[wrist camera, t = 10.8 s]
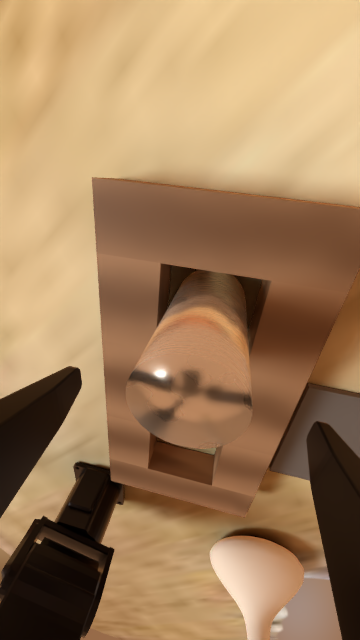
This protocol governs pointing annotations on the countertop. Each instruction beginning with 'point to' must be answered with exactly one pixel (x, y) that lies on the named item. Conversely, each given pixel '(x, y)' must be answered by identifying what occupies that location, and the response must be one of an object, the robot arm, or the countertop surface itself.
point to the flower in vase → (257, 579)
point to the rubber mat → (314, 405)
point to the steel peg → (196, 366)
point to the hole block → (265, 328)
